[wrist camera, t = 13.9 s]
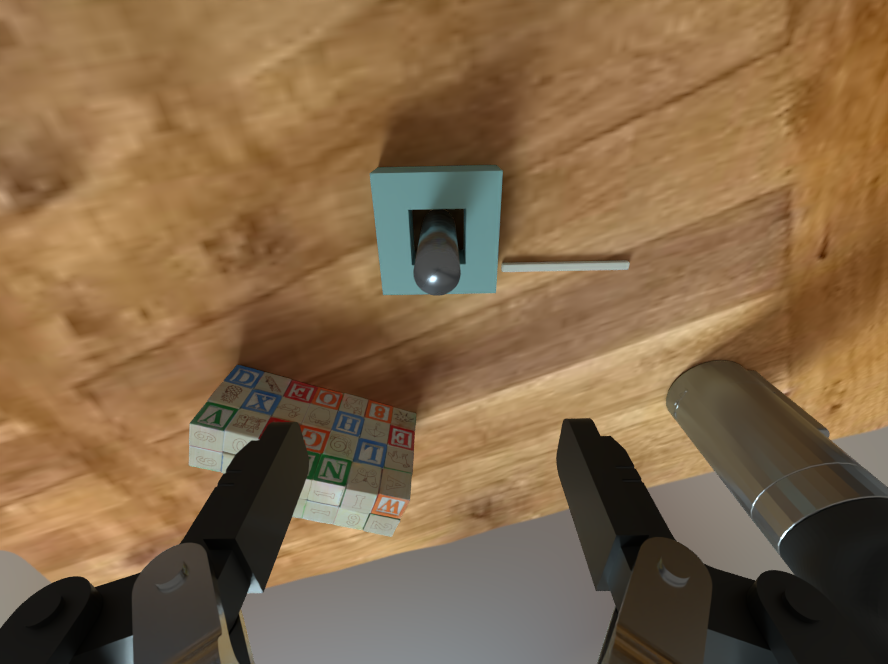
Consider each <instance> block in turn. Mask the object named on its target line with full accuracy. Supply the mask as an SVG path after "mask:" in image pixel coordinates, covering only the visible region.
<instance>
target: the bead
mask: <svg viewBox="0 0 888 664" xmlns="http://www.w3.org/2000/svg"><path fill="white" fill-rule="evenodd" d="M502 175H503V171H502V170H501V169H500V168H499V167H498V166H497V165H464V166H417V167H378V168H376V169H375V170H374V171H372V172H371V173H370V180H371V189H372V198H373V207H374V216H375V225H376V234H377V243H378V252H379V261H380V270H381V280H382V289H383V295H414V294H428V293H425V292H424V291H422V290H421V289H420V288H419V287H418V286H417V284H416V282H415V280H414V275H413V270H414V265H415V259H416V254H417V251H415V247H414V230H413V214H412V210H421V209H464V240H463V250H458V253H459V261H460V270H461V276H460V280H459V283H458V285H457V286H456V287H455V288H454V289H453V290H452V291H451V292H449V293H447V294H466V293H496V282H497V264H498V246H499V228H500V210H501V193H502Z"/></svg>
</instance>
